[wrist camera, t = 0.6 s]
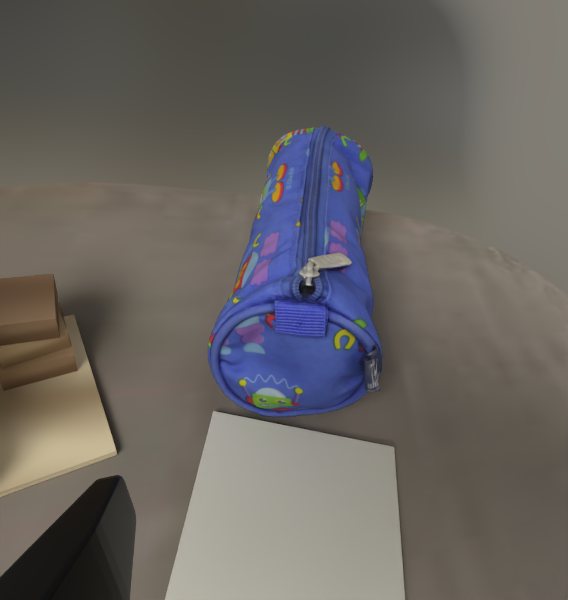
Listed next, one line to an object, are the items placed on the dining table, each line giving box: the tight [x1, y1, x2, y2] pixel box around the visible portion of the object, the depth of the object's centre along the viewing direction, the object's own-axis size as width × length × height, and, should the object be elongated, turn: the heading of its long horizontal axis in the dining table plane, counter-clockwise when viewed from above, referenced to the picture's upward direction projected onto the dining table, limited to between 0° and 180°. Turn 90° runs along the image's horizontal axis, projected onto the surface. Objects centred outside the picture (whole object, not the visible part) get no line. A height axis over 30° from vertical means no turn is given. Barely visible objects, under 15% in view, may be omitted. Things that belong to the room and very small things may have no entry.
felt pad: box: [165, 411, 405, 600], centre depth 22 cm, size 10×10×1 cm
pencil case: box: [208, 126, 382, 417], centre depth 30 cm, size 22×9×10 cm, turn 173°
